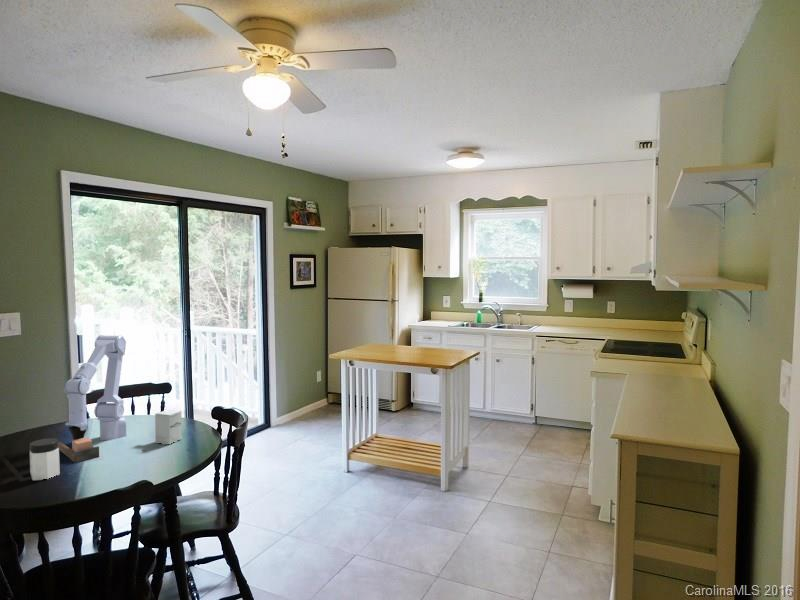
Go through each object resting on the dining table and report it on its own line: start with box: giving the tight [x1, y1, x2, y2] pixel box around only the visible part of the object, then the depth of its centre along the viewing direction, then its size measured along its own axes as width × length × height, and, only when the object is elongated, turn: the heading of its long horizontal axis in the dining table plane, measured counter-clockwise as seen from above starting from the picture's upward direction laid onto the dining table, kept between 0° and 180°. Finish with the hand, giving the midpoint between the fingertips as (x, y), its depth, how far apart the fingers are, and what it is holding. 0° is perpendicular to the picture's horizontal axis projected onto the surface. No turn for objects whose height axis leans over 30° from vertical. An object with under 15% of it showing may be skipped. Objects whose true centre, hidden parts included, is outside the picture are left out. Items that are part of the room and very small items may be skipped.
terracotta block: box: [71, 436, 93, 451], centre depth 195 cm, size 5×6×6 cm
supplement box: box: [154, 409, 183, 445], centre depth 215 cm, size 7×7×13 cm
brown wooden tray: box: [58, 441, 102, 466], centre depth 199 cm, size 12×22×5 cm, turn 48°
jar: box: [29, 437, 61, 481], centre depth 179 cm, size 9×8×12 cm
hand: (78, 444), depth 198 cm, fingers closed
